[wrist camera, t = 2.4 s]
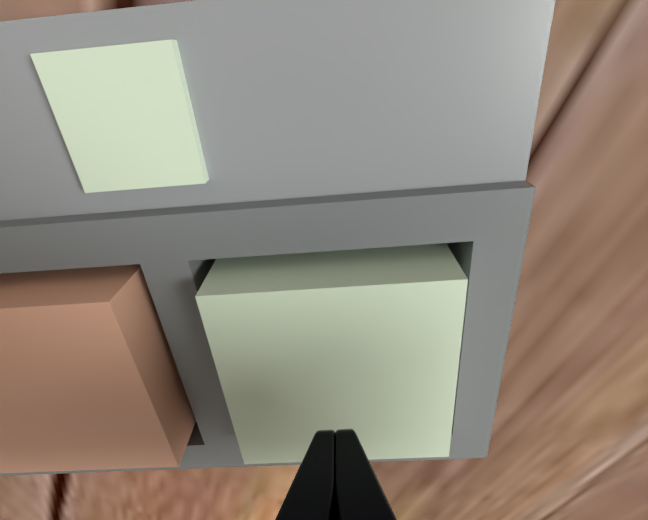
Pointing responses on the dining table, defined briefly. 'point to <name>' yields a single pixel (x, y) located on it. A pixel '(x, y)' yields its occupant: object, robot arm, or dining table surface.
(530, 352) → the dining table surface
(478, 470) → the dining table surface
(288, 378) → the sage key
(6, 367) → the terracotta key
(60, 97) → the keypad
